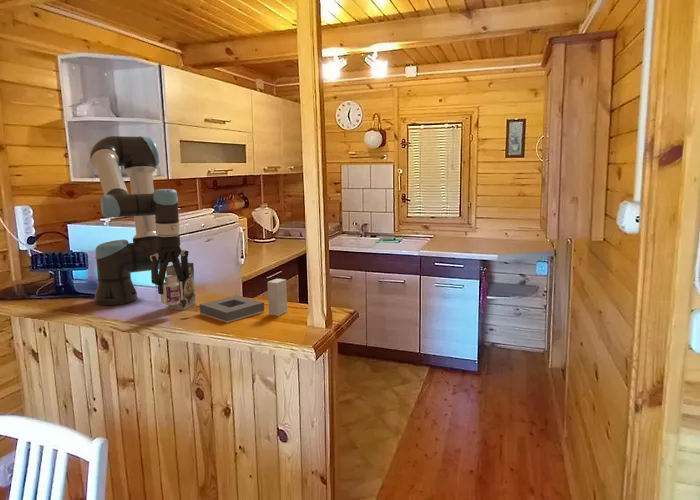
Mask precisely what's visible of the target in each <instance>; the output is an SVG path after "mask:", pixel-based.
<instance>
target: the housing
mask: <svg viewBox="0 0 700 500" xmlns="http://www.w3.org/2000/svg"><path fill="white" fill-rule="evenodd" d="M262 313H265V302H264V301H260V300H256V299H252V298H249V297H244V296H242V295H238V294H235V295H231V296H228V297H223V298H219V299H215V300H212V301H208V302H207V301H206V302H203V303H200V304H199V314H200V315H203V316H206V317H209V318H212V319H215V320H218V321H221V322H224V323H230V322H234V321H239V320H241V319H245V318H249V317H252V316H255V315H258V314H262Z"/></svg>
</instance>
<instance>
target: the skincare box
mask: <svg viewBox="0 0 700 500" xmlns="http://www.w3.org/2000/svg"><path fill="white" fill-rule="evenodd" d="M287 294H288V293H287V279H284V278H275V279H272V280H269V281H267V302H268V303H267V304H268V306H267V308H268V309H267V310H268V315H269V316H274V315H275V316H276V317H280V316H281V315H283V314H285V313H287V312H288V296H287Z"/></svg>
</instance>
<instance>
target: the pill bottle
mask: <svg viewBox="0 0 700 500" xmlns="http://www.w3.org/2000/svg"><path fill="white" fill-rule="evenodd" d="M176 280H177V276H176V275H169V276H167V275H165V279H164V285H166V294H167V304H165V305H167V306H168V305H176V304H179V303H180V286H179V282H178V281H176Z"/></svg>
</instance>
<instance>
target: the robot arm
mask: <svg viewBox="0 0 700 500" xmlns="http://www.w3.org/2000/svg"><path fill="white" fill-rule="evenodd" d="M91 148H92V149H91V151H90V155H89V158H90V159H89V160H90V162H91V165H92V167H93V168H94V169H95V170H96V171H97V172H96V173H97V176H98V179H99V182H100V185H101V188H102V192H103V195H101V196H100V209H101V213H102V216H103V217H104V218H117V219H118V218H126V217H128V218H129V217H133V218H134V226H135V227H134V228H135V235H134V236H133V237H132V242H129V241H128V240H127V239H117V240H111V241H106V242H103V243H100V244H98V245H97V246H96V247H95V250H94V251H95V257H94V259H95V263H96V274H97V286H96V290H95V294H94V298H93V299H94V304H95V305H99V306H118V305H125V304H129V303H132V302H134V301H136V300H138V293H137V289H136V288H135V286H134V284H133V281H132V276H131V274H132V273H139V272H140V273H141V272H149V271H150V275H151V277H150V278H151V280H150V281H151V284H154V285H155V286H156V285H157V293H158V294H159V295H160V303H162V304H164V305H166V304H167V294H166V285H164V282H165V276H166V275H167V273H166V269H167V267H168V266H169V263H172V265H173V266H174V269H175V272H176V275H177V278H178V280H179V281H178V282H179V286H180V300H183V290H184V281H186V279H187V278H189V268H188V263H189V260H188V257H189V253H190V251H188V250H185V249H182V248H181V237H180V235H179V234H180V218H179V215H180V214H179V198H178V192H177V190H176V189H172V188H162V189H161V188H160V189H155V188H154V177H153V174H154V173H155V171H156V167H158V166H159V164H160V155H159V150H158V146H157V144H156V142H155V141H154V139H153V138H152V137H147V136H141V135H140V136H121V135H120V136H119V135H118V136H117V135H111V136H110V135H109V136H106V137H104V138H102V139H100V140H98V141H97V142H96V143H95V144H94V145H93V146H92V147H91ZM120 167H123V168H124V172H125V173H126V174H128V175H129V183H130V184H129V185H130V194H129V191H128V189H127V186H126V183H125V179H124V178H123V175H122V172H121V169H120ZM179 257H180V259H179ZM180 263H181V266H182V269H181V266H180Z"/></svg>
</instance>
